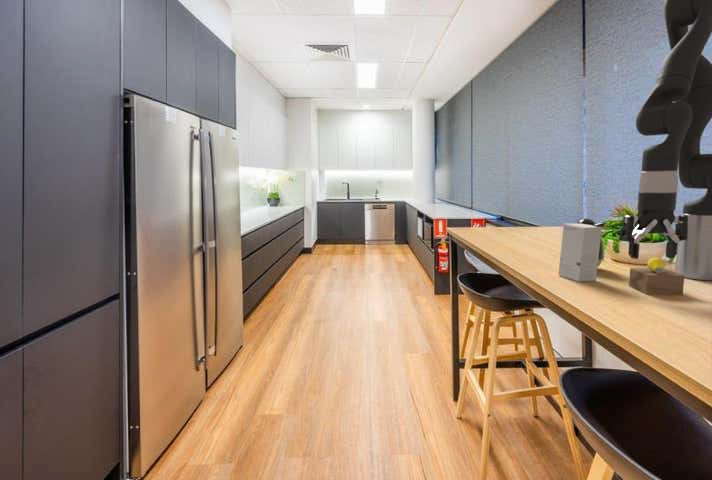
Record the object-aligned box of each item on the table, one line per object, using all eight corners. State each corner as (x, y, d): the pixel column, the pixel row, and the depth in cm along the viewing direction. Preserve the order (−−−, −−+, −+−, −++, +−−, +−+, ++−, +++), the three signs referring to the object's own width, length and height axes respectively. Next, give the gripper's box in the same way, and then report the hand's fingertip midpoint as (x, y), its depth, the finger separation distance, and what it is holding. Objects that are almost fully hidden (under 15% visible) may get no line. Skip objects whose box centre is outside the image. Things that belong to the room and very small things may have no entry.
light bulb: (658, 269, 108) (665, 257, 106) (663, 281, 103) (671, 269, 101) (643, 265, 109) (650, 253, 107) (647, 276, 104) (655, 264, 102)
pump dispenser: (592, 273, 126) (595, 221, 123) (558, 267, 134) (560, 218, 132) (610, 269, 131) (613, 218, 129) (576, 263, 140) (579, 216, 138)
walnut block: (628, 287, 111) (630, 268, 110) (662, 287, 110) (664, 268, 109) (646, 295, 103) (647, 275, 102) (682, 296, 102) (684, 275, 102)
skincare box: (557, 275, 123) (560, 223, 121) (576, 274, 125) (579, 222, 123) (579, 282, 115) (583, 226, 113) (598, 281, 117) (602, 225, 115)
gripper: (676, 189, 107) (671, 255, 109) (617, 190, 107) (613, 255, 110) (700, 190, 100) (693, 260, 102) (636, 191, 100) (631, 261, 102)
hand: (651, 258), depth 106 cm, fingers open, 8 cm apart
